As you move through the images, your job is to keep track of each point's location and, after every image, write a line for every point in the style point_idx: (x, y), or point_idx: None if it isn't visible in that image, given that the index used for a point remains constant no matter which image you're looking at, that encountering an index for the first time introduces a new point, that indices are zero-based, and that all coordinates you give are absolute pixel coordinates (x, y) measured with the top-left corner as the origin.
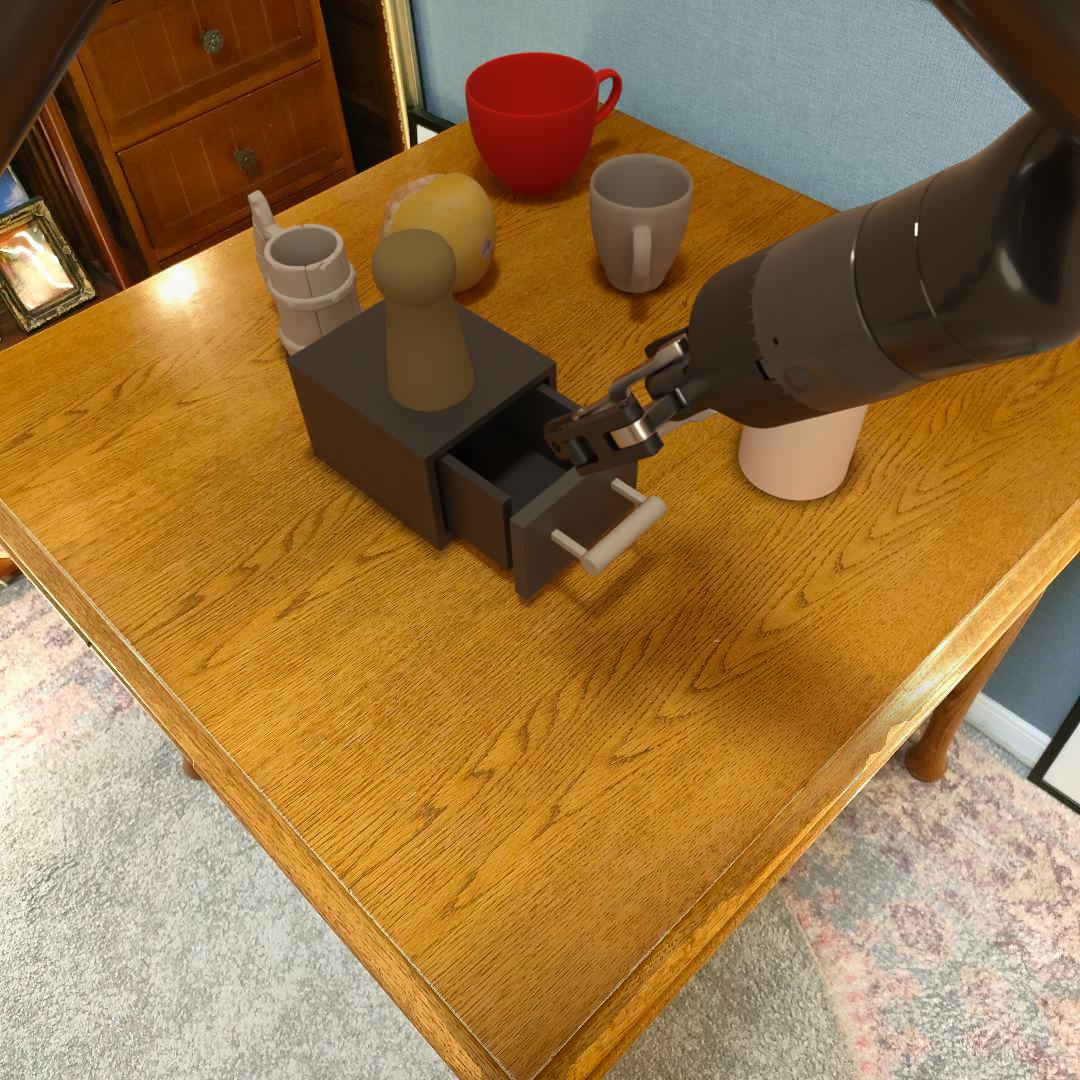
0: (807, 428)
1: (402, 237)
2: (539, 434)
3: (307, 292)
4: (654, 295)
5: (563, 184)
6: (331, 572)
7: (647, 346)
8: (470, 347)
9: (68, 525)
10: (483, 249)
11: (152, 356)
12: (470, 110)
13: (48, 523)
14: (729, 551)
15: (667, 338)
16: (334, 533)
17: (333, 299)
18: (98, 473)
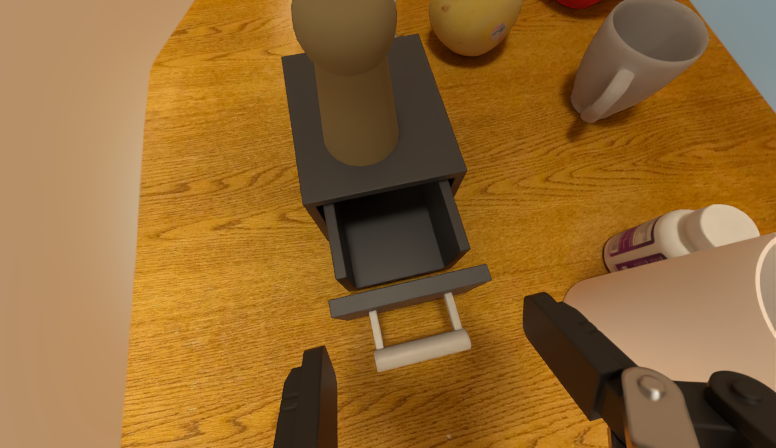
0: (645, 363)
1: None
2: (431, 205)
3: None
4: (595, 124)
5: (589, 6)
6: (261, 215)
7: (531, 300)
8: (411, 117)
9: (163, 99)
10: (495, 31)
11: (274, 13)
12: None
13: (155, 92)
14: (507, 368)
15: (566, 338)
16: (281, 189)
17: None
18: (198, 74)
